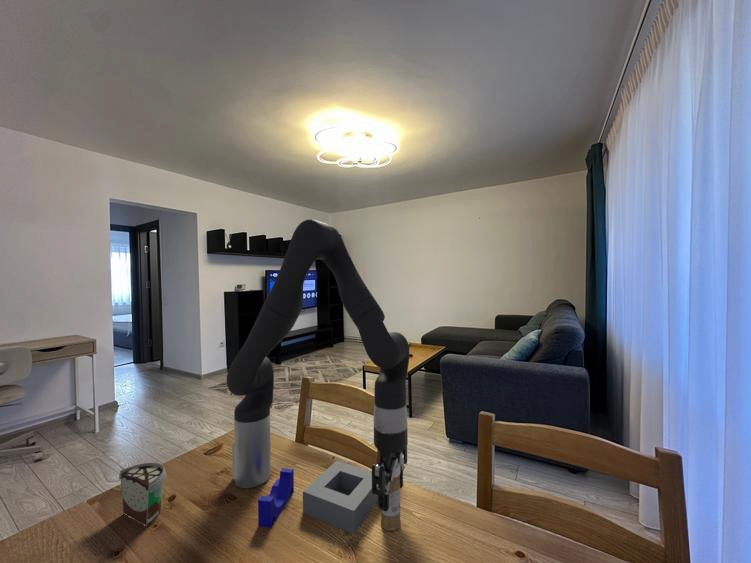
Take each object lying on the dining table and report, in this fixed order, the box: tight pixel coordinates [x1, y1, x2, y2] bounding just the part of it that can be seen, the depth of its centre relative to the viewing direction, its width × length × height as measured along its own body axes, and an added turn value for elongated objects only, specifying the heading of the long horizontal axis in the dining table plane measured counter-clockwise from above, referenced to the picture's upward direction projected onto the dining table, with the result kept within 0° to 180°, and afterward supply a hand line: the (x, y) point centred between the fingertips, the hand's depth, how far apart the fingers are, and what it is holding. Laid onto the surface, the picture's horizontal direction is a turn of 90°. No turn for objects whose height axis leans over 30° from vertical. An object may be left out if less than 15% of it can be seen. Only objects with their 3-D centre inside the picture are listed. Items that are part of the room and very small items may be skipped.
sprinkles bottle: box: [380, 462, 402, 532], centre depth 69 cm, size 5×5×14 cm
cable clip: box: [257, 467, 295, 529], centre depth 75 cm, size 12×4×6 cm, turn 171°
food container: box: [118, 462, 167, 527], centre depth 74 cm, size 12×6×10 cm, turn 65°
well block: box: [302, 460, 378, 535], centre depth 76 cm, size 14×14×5 cm
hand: (391, 497), depth 69 cm, fingers open, 7 cm apart
